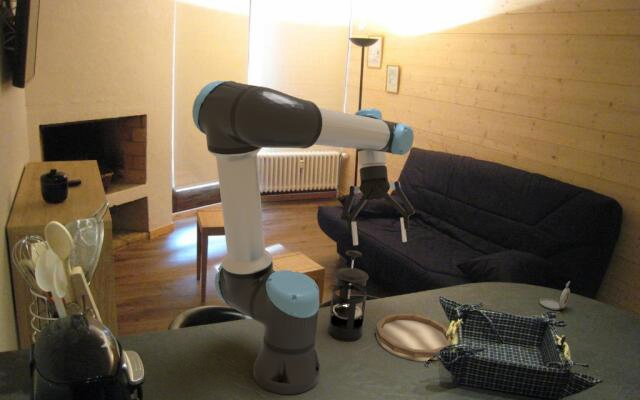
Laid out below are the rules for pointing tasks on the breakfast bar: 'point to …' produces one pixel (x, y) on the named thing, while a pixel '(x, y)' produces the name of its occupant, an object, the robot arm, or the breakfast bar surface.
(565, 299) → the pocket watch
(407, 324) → the ring trivet
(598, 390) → the breakfast bar surface
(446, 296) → the breakfast bar surface
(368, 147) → the robot arm
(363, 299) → the french press
